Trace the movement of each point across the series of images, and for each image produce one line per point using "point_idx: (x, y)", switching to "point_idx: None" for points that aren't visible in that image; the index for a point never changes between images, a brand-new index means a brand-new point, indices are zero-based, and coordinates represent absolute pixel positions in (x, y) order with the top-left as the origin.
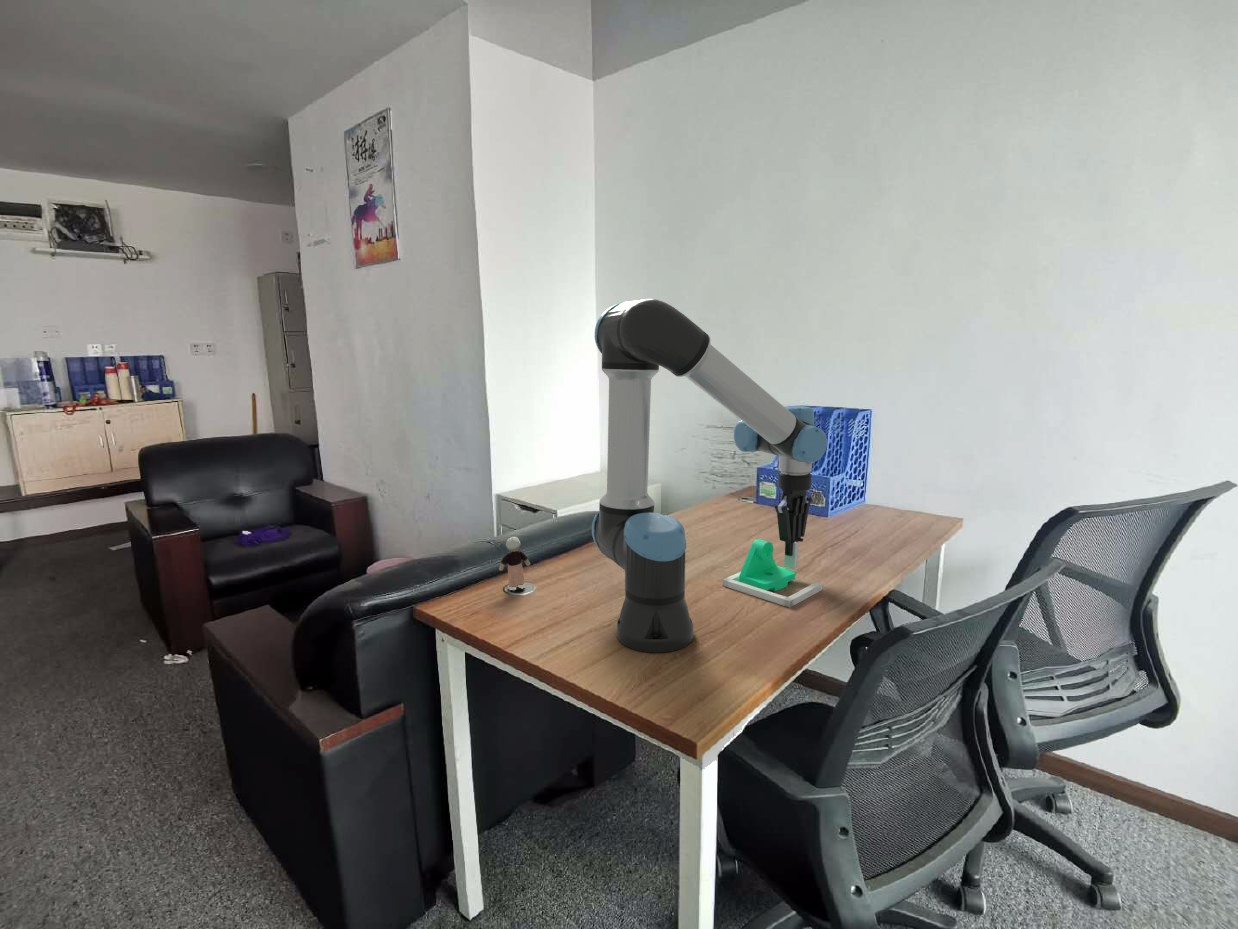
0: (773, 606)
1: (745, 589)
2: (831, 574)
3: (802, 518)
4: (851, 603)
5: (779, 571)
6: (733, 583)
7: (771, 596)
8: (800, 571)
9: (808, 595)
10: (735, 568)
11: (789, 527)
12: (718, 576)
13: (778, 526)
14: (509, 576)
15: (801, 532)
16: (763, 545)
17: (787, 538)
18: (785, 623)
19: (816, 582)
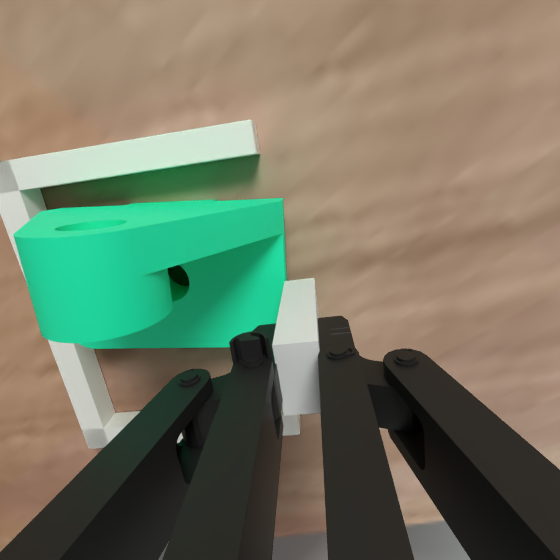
0: (64, 398)
1: None
2: (472, 359)
3: (480, 554)
4: (281, 514)
5: (230, 294)
6: (5, 226)
7: (68, 386)
8: (408, 262)
9: None
10: (191, 26)
11: (150, 553)
12: (49, 62)
13: (80, 474)
14: None
15: (397, 439)
16: (42, 331)
17: (177, 454)
18: (24, 475)
19: (292, 417)
